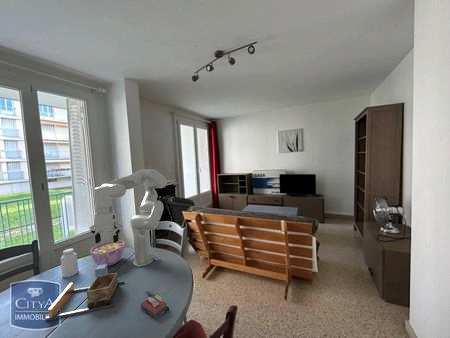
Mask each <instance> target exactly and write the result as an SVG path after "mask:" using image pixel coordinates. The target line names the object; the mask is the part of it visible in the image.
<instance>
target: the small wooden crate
mask: <svg viewBox="0 0 450 338" xmlns="http://www.w3.org/2000/svg"><path fill="white" fill-rule="evenodd" d="M118 277H119V276H118V272H112V273H108V274H106V275H100V276H97V277H96V276H95V278H94V281H93V282H92V283H91V285H89V287H90V288H89V289H88V290H86V296H87V297H86V299H87V300H86V301H85V304H87V306H86V307H87V308H92V307H95V304H96V303H98V302H102V301H103V305H106V304H111V302H112V297H113V295H114V293H115V290H116V288H117V287H118V286H119V285H120V284H119V281H120V278H118Z"/></svg>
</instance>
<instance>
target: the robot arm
mask: <svg viewBox="0 0 450 338" xmlns="http://www.w3.org/2000/svg"><path fill="white" fill-rule="evenodd" d="M142 184H143V187H144V190H145V195H144V197H143V199H142V201H141V204H140V206H139V209H138V211H139V213H140V214H135V215H133V216H132V217H131V219H130V222H129V223H130V227H131V230H132V237H133V248H134V260H133V262H132V264H133V266H134V267H140V268H141V267H145V266H148V265H150V264H152V263H153V262H154V259H158V257H159V255H158V254H157V253H152V251H151V242H150V241H151V240H150V233H149V231H153V230H155V229H157V227H158V225H159V223H160V220H161V218H162V214H163V212H164V204H163V202H162V201H161V200H158V193H157V190H155V189H163V188H166V186H167V184H168V181H167V178H166V177H165V175H163V174H162V173H160V172H159V171H158V170H156V169H155V168H154V169H153V168H151V169H150V168H149V169H140V170H137V171H135V172H133V173H131V174H128V175H127V176H126V175H125V176H122V177H120V178H116V179H113V180H110V181H108V182H106V183H103V184H102V185H101V186H97V187H95V188H94V190H93V196H94V204H95V205H94V206H95V214H94V219H93V220H94V222H93V225H91V226H90V227H88V228H89V230H90V231H91V232H90V233H91V234H92V235H93V236H94V241H95V244H100V243H101V241H102V239H101V238H102V237H101V233H111V234H113V236H112V239H113V240H112V241H113V242H114V243H116V242H117V241H118V240H120V239H119V234H120V232H121V231H122V228H123V225H122V224H119V223H118V220H117V215H116V212H115V207H113V200H112V199H117V198H118V199H119V198H123V197H124V196H125V195H126V193H127V190H132V189H136V188H137V187H139V186H140V185H142Z"/></svg>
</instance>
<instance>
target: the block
mask: <svg viewBox="0 0 450 338" xmlns="http://www.w3.org/2000/svg"><path fill="white" fill-rule="evenodd" d="M94 270H95V278H96V277H97V276H100V275H106V274H109V273H108V272H109V271H108V266H107V264H104V265H97V266H96V268H95V269H94Z"/></svg>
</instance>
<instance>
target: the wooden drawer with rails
mask: <svg viewBox="0 0 450 338" xmlns="http://www.w3.org/2000/svg"><path fill="white" fill-rule="evenodd" d="M122 284H125V280H119V284H118V285H122ZM89 288H90V286H86V287H80V288H75V287H74V282H70V283H69V284H68V285H67V286H66V288H64V290H63V291H62V292H61V294H59V296H58V297H57V298H56V300H54V302H53V303H52V304H51V305H50V306H49V308H48V316H46V317H45V321H46V320H48V321H52V320H51V319H53V320H56V319H55V318H58V319H60V318H59V317H63V318H66V317H67V316H68V317H72V316H75V315H81V314H87V313H90V312H96V311H100V310H105V309H110V308H115V306H116V303H115V302H112V303H111V302H110V304H106V305H105V304H102V305H97V306H93V307H92V308H88V307H87V308H82V309H77V310H72V311H68V312H63V313H57V315H55V313H56V312H57V310H58V309H60V310H61V309H62V308H63V307H64V306H63V305H65V304H66V303H67V301H68V300H69V299H70V297H71V296H73V295H74V294H73V293H80V292H85V291H86V292H87V291H88V289H89ZM68 317H67V318H68Z"/></svg>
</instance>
